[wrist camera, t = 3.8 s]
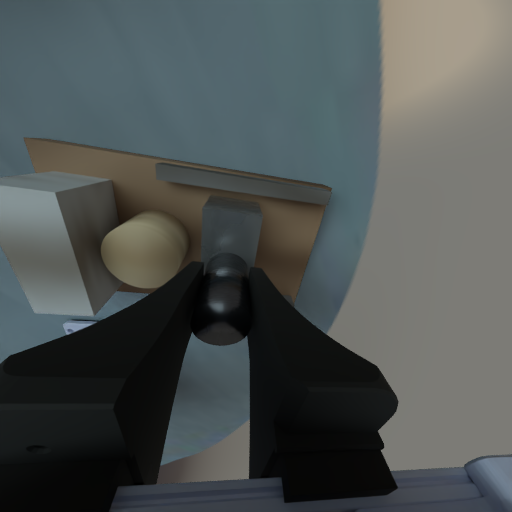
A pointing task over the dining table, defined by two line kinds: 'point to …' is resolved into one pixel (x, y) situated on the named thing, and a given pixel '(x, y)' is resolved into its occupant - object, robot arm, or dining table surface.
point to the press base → (126, 207)
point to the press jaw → (226, 269)
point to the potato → (146, 249)
